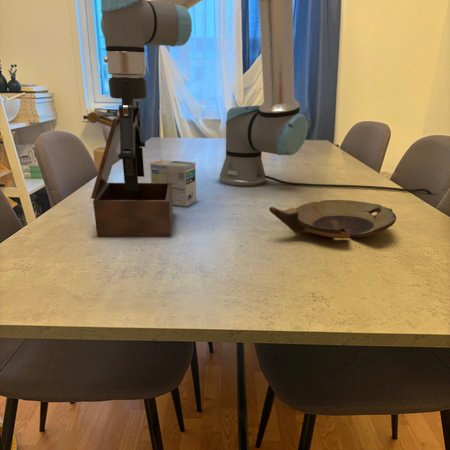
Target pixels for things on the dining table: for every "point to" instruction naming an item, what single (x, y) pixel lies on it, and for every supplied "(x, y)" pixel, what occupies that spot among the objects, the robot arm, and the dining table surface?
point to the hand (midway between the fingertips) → (135, 183)
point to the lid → (106, 149)
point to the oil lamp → (337, 218)
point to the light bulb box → (176, 179)
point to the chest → (134, 210)
